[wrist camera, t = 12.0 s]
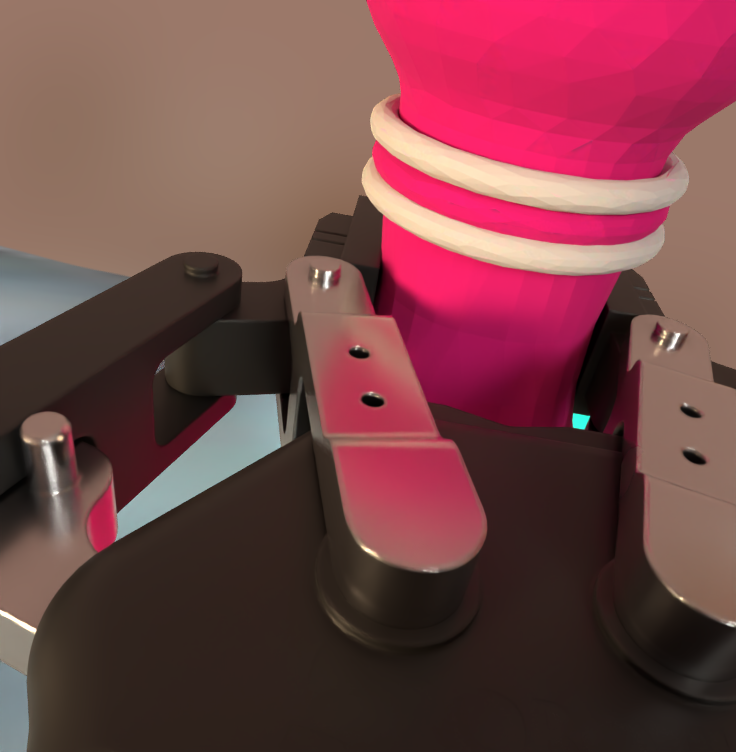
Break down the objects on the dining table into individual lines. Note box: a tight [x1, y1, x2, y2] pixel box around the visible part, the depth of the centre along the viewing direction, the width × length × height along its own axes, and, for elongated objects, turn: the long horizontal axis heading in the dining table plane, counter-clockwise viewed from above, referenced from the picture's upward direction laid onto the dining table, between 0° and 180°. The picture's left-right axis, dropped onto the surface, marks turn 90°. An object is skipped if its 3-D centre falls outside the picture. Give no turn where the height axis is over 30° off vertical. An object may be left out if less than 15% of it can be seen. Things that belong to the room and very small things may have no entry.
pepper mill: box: [362, 0, 736, 428], centre depth 12 cm, size 7×7×20 cm
